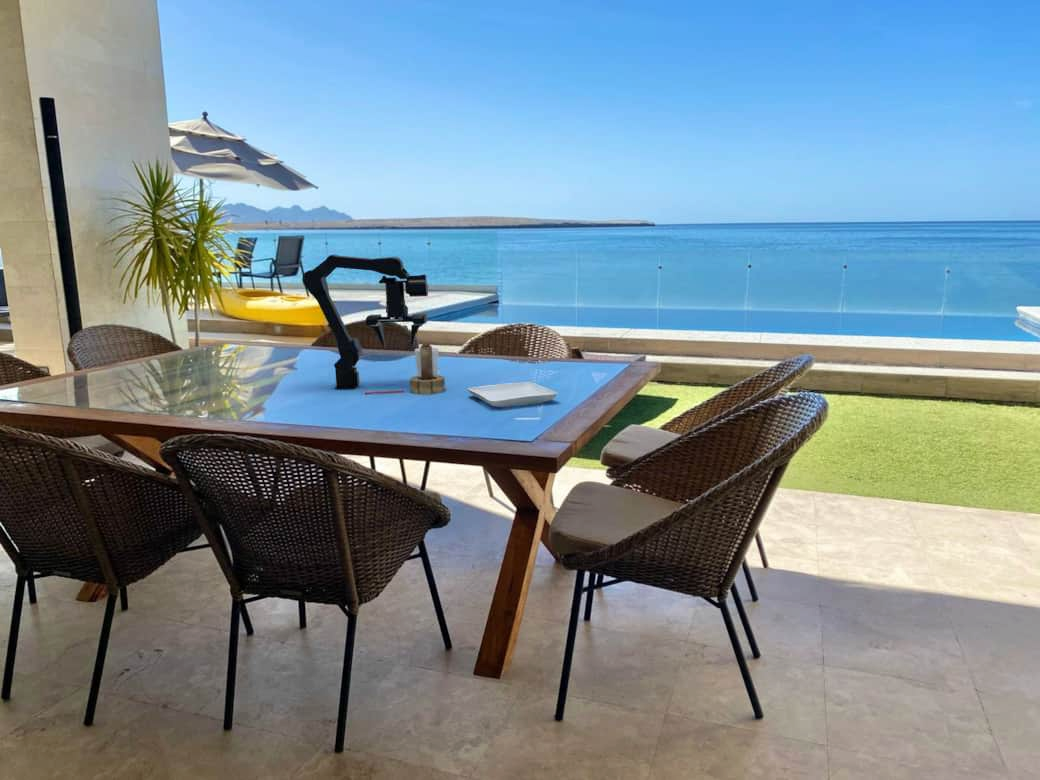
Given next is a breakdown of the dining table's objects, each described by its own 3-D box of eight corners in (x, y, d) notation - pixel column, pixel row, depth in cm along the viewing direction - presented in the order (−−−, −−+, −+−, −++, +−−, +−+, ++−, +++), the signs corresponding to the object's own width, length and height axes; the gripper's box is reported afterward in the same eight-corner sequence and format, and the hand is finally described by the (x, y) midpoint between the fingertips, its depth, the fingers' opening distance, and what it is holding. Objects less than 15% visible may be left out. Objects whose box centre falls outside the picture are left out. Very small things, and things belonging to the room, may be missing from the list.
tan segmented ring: (408, 394, 237) (407, 381, 237) (414, 387, 248) (413, 375, 247) (442, 394, 237) (441, 381, 236) (446, 387, 247) (445, 374, 246)
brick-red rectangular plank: (365, 394, 238) (364, 392, 238) (365, 393, 239) (365, 392, 239) (404, 392, 240) (404, 390, 240) (404, 391, 241) (404, 390, 241)
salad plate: (465, 397, 233) (465, 386, 232) (530, 391, 241) (530, 380, 241) (491, 412, 214) (491, 400, 213) (560, 404, 222) (560, 393, 222)
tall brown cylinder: (423, 392, 240) (421, 343, 237) (420, 390, 243) (418, 341, 240) (434, 391, 241) (433, 342, 238) (431, 389, 245) (429, 340, 241)
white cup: (435, 381, 257) (434, 351, 255) (412, 380, 259) (411, 350, 257) (442, 376, 265) (441, 347, 263) (420, 375, 266) (419, 347, 264)
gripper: (428, 294, 251) (431, 341, 254) (371, 295, 252) (375, 343, 255) (423, 297, 240) (425, 347, 243) (363, 298, 241) (367, 348, 244)
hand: (398, 346), depth 247 cm, fingers open, 9 cm apart
